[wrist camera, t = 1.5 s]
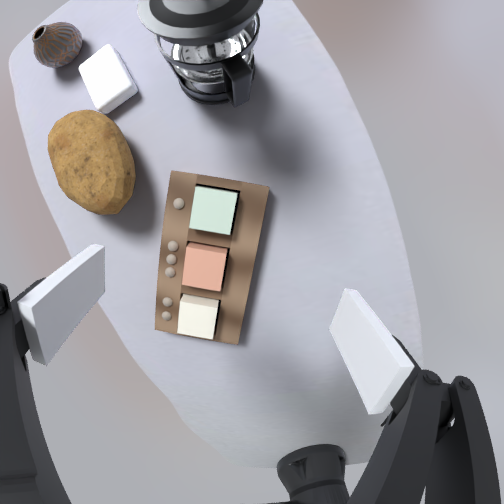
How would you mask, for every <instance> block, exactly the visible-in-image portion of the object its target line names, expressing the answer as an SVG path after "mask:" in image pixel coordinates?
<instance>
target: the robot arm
mask: <svg viewBox="0 0 504 504" xmlns="http://www.w3.org/2000/svg"><path fill="white" fill-rule="evenodd" d="M104 292H105V246H102V245H97V244H92V245H90V246H89V247H88V248H86V249H85V250H83V251H82V252H80V253H79V254H78V255H76V256H75V257H74V258H72V259H71V260H70V261H68V262H67V263H65V264H64V265H63V266H62V267H60V268H59V269H58V270H56V271H55V272H54V273H52V274H51V275H50V276H48V277H47V278H42V279H40V280H37V281H36V282H34V283H33V284H32V285H31V286H30V287H28V288H27V289H26V290H25V291H23V292H22V293H21V294H19V296H17V297H16V298H15V299H13V300H12V301H11V302H10V298H9V293H8V289H7V286H6V285H4V284H1V283H0V504H71V502H70V500H69V498H68V496H67V494H66V491H65V490H64V487H63V485H62V483H61V481H60V478H59V476H58V474H57V471H56V469H55V466H54V463H53V461H52V458H51V455H50V453H49V450H48V447H47V444H46V441H45V438H44V435H43V431H42V428H41V425H40V421H39V417H38V413H37V410H36V405H35V401H34V397H33V392H32V387H31V382H30V376H29V370H28V364H27V359H26V356H25V354H26V352H27V351H28V350H29V349H30V352H31V355H32V358H33V360H34V361H37V362H39V363H41V364H43V365H46V366H47V365H48V363H49V362H50V361H51V359H52V358H53V356H54V355H55V354H56V353H57V351H58V350H59V348H60V347H61V346H62V344H63V343H64V342H65V341H66V339H67V338H68V337H69V335H70V334H71V333H72V332H73V330H74V328H76V326H77V325H78V324H79V323H80V321H81V320H82V319H83V318H84V316H85V315H86V314H87V313H88V311H89V310H90V309H91V308H92V307H93V305H94V304H95V303H96V302H97V301H98V300H99V298H100V297H101V296H102V295H103V294H104ZM329 330H330V332H331V335H332V337H333V339H334V341H335V343H336V345H337V347H338V349H339V351H340V353H341V355H342V357H343V360H344V362H345V364H346V366H347V368H348V370H349V372H350V374H351V377H352V379H353V381H354V383H355V385H356V387H357V389H358V392H359V394H360V396H361V398H362V400H363V403H364V405H365V407H366V409H367V412H368V414H369V415H370V414H379V413H383V412H384V411H385V410H386V408H387V407H388V406H389V404H391V406H392V408H393V410H392V412H391V413H390V414H389V416H388V417H387V418H386V419H385V421H384V422H383V423H382V424H381V426H382V427H383V426H384V424H385V426H384V429H383V431H382V434H381V436H380V439H379V441H378V443H377V445H376V448H375V450H374V452H373V454H372V456H371V459H370V461H369V463H368V465H367V467H366V469H365V471H364V473H363V475H362V477H361V479H360V480H359V482H358V484H357V486H356V488H355V490H354V492H353V493H352V495H351V497H349V494H348V491H347V488H346V485H345V482H344V473H345V461H346V460H345V455H344V453H343V450H342V449H341V448H340V447H338V446H335V445H315V446H310V447H306V448H302V449H299V450H296V451H294V452H292V453H290V454H288V455H286V456H285V457H283V458H282V459H281V460H280V461H279V462H278V464H277V472H278V476H279V478H280V480H281V482H282V483H283V485H284V486H285V488H286V489H287V491H288V493H289V495H290V501H289V502H279V503H268V504H420V501H421V498H422V495H423V492H424V488H425V485H426V493H425V504H501V498H500V489H499V480H498V473H497V468H496V462H495V457H494V452H493V447H492V443H491V439H490V435H489V431H488V427H487V423H486V420H485V416H484V413H483V409H482V406H481V403H480V400H479V397H478V394H477V391H476V389H475V386H474V384H473V383H472V382H471V381H470V379H468V378H467V377H463V376H456V377H455V379H454V380H453V382H452V383H451V384H447V383H442V380H441V379H440V377H439V376H438V375H437V374H435V373H434V372H432V371H429V370H421V368H420V367H419V365H418V364H417V363H416V361H415V360H414V359H413V357H412V356H411V355H410V354H409V352H408V351H407V349H405V347H404V345H403V344H402V343H401V341H399V340H398V339H397V338H396V337H394V336H393V335H391V334H390V332H389V331H388V330H387V328H386V327H385V326H384V324H383V323H382V322H381V321H380V319H379V318H378V317H377V315H376V314H375V313H374V312H373V310H372V309H371V308H370V306H369V305H368V304H367V303H366V301H365V300H364V299H363V298H362V296H361V295H360V294H359V293H358V292H357V290H353V289H346V288H344V291H343V294H342V297H341V299H340V302H339V305H338V307H337V310H336V313H335V315H334V318H333V320H332V323H331V326H330V328H329ZM454 418H455V420H454V424H453V426H452V427H451V423H450V422H451V421H452V420H453V419H454Z"/></svg>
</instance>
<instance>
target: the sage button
mask: <svg viewBox="0 0 504 504" xmlns="http://www.w3.org/2000/svg"><path fill="white" fill-rule="evenodd" d="M237 193H238V192H232V191H227V190H221V189H215V188H209V187H203V186H197V187H195V193H194V199H193V205H192V212H191V218H190V225H189V228H193V229H198V230H204V231H210V232H216V233H222V234H227V235H230V232H231V226H232V220H233V215H234V209H235V204H236V199H237Z"/></svg>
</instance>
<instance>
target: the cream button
mask: <svg viewBox="0 0 504 504" xmlns="http://www.w3.org/2000/svg"><path fill="white" fill-rule="evenodd" d="M218 302H219V300H218V299H212V298H207V297H201V296H196V295H190V294H185V293H184V294H183V296H182V298H181V300H180V307H179V318H178V330H177V333H180V334H185V335H190V336H195V337H201V338H207V339H213V334H214V328H215V321H216V315H217V309H218Z"/></svg>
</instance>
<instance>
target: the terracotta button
mask: <svg viewBox="0 0 504 504" xmlns="http://www.w3.org/2000/svg"><path fill="white" fill-rule="evenodd" d="M227 248H228V247H222V246H216V245H210V244H205V243H199V242H193V241H191V242H190V243H189V244H188V245H187V247H186V254H185V261H184V270H183V278H182V285H187V286H192V287H197V288H203V289H209V290H214V291H220V290H221V284H222V278H223V272H224V266H225V260H226V254H227Z"/></svg>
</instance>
